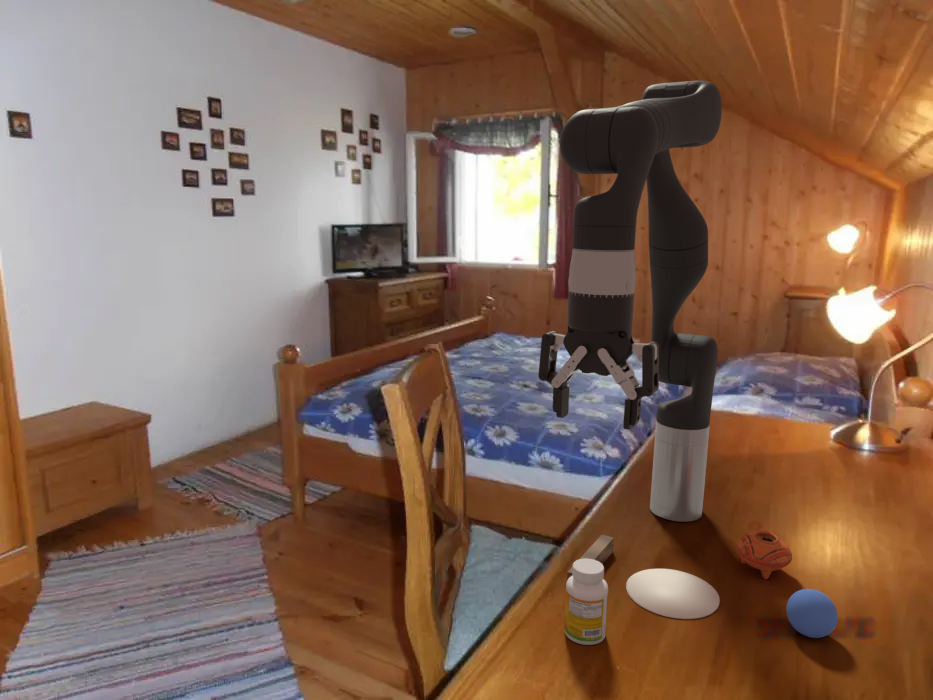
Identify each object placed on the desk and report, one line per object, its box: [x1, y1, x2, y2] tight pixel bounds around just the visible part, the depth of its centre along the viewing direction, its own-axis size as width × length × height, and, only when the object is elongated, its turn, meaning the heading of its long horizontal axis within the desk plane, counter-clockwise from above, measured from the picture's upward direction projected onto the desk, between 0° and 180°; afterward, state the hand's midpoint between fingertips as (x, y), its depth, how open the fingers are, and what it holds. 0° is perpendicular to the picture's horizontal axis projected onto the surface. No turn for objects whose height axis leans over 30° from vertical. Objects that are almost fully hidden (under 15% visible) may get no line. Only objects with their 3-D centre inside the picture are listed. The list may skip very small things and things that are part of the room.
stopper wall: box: [566, 534, 615, 581], centre depth 105 cm, size 14×2×2 cm, turn 148°
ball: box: [786, 588, 839, 639], centre depth 89 cm, size 6×6×6 cm
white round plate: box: [625, 568, 721, 620], centre depth 99 cm, size 13×13×1 cm
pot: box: [736, 529, 793, 580], centre depth 105 cm, size 8×8×7 cm
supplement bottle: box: [563, 558, 609, 646], centre depth 88 cm, size 5×5×10 cm
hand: (594, 421), depth 83 cm, fingers open, 8 cm apart
